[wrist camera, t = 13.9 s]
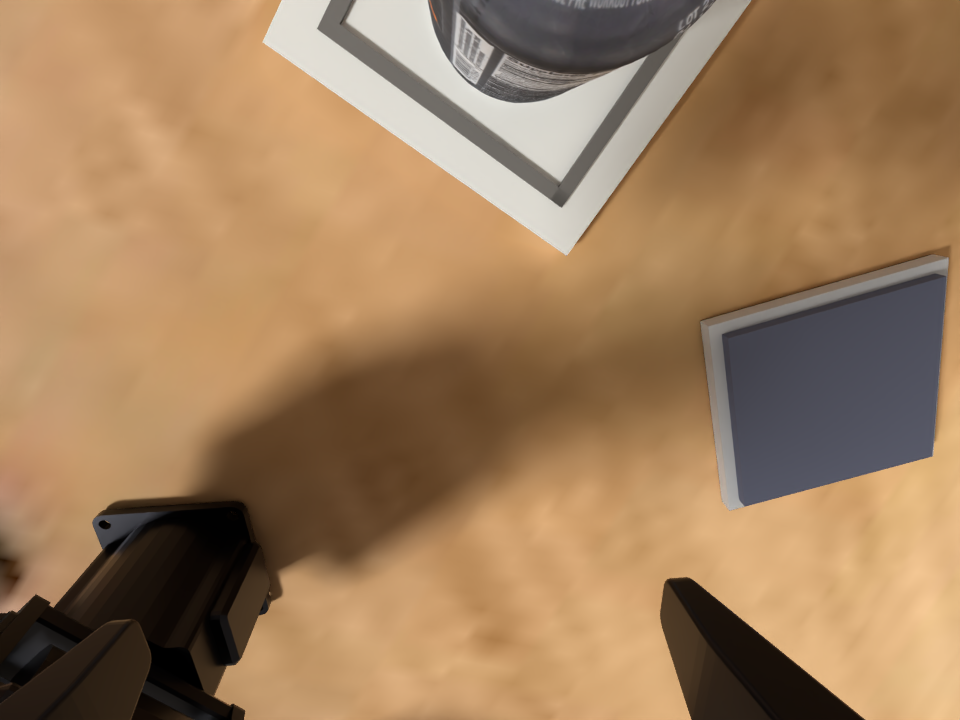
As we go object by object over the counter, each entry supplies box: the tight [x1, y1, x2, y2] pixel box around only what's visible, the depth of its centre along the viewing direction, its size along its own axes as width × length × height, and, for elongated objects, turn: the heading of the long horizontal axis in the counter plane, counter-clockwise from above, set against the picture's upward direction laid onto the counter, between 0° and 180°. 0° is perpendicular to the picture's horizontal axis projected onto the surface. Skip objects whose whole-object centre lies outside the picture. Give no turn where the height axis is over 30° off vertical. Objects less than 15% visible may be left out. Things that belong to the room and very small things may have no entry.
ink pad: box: [700, 254, 949, 511], centre depth 22 cm, size 10×10×1 cm
